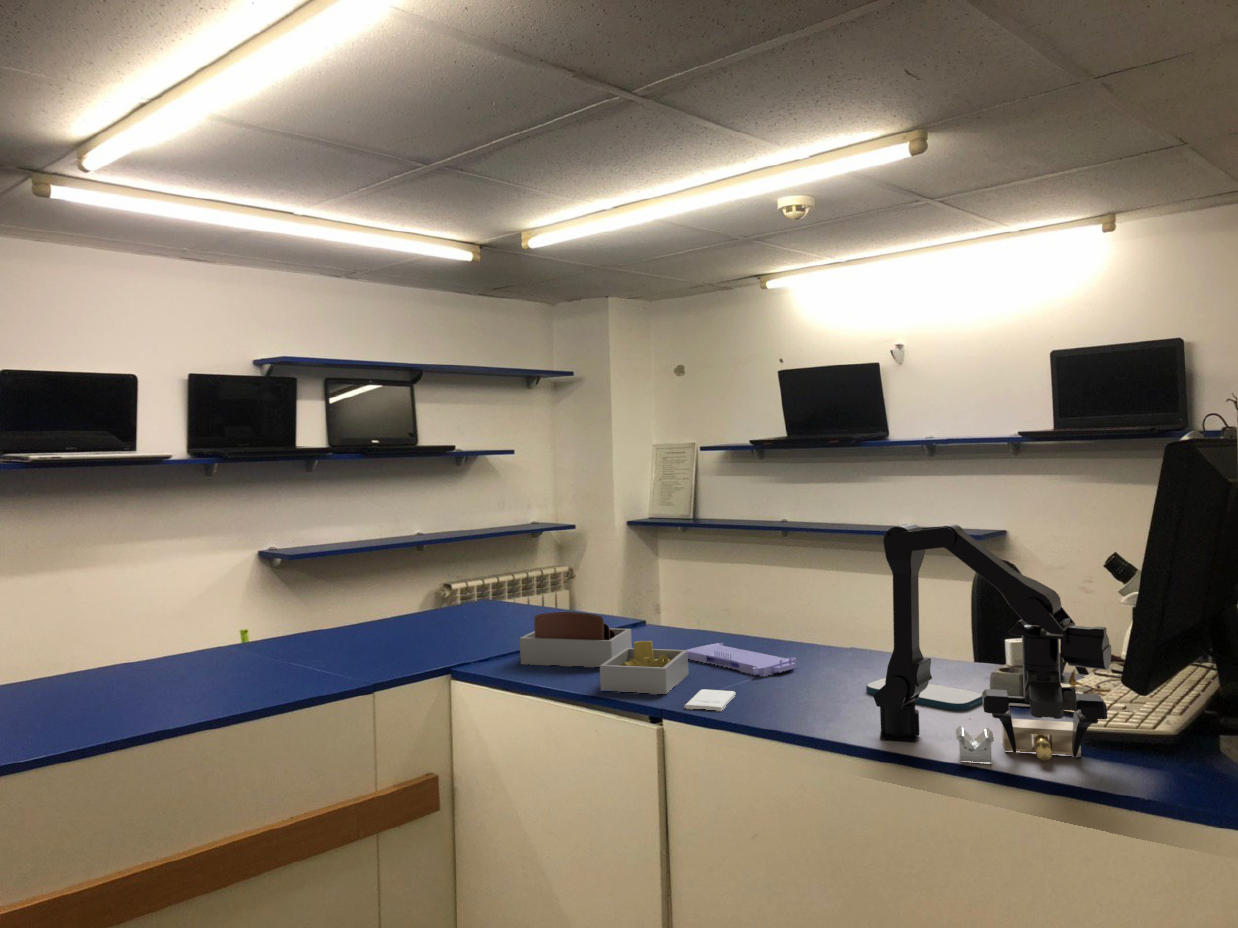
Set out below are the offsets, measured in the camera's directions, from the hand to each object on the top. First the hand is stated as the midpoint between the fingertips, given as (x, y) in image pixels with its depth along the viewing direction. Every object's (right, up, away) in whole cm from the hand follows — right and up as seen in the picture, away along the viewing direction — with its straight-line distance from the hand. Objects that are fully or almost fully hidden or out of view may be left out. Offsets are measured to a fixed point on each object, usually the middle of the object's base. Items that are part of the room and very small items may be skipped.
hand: (1044, 754), depth 151 cm
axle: (+1, +1, +4) cm, 4 cm away
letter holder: (-84, -4, +88) cm, 122 cm away
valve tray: (-66, -3, +63) cm, 91 cm away
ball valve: (-64, -4, +63) cm, 90 cm away
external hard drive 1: (-52, -4, +44) cm, 68 cm away
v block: (-11, -2, +3) cm, 11 cm away
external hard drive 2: (-6, -2, +42) cm, 42 cm away
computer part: (-41, -3, +77) cm, 88 cm away
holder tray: (-83, -4, +90) cm, 123 cm away
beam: (+2, -1, +6) cm, 6 cm away
